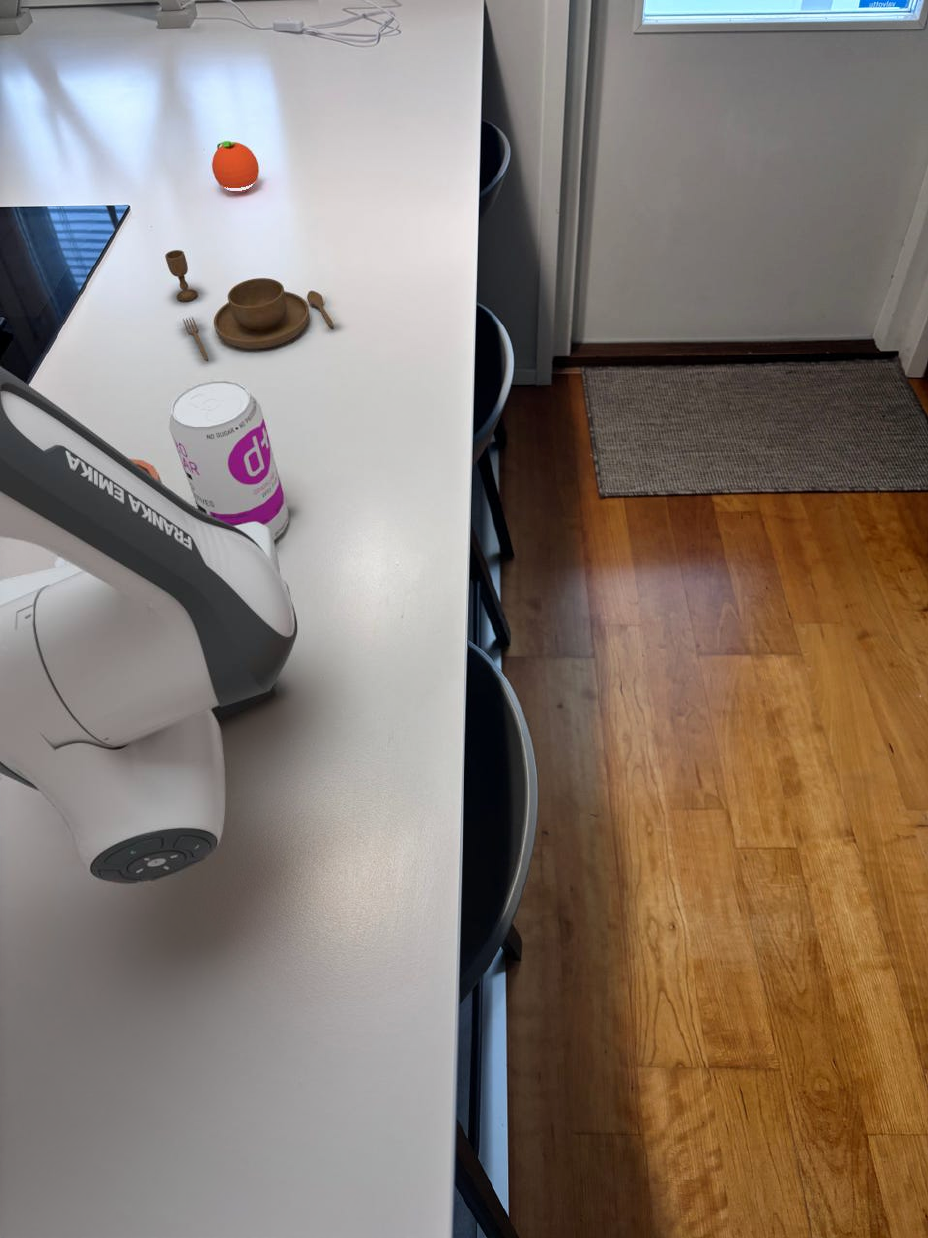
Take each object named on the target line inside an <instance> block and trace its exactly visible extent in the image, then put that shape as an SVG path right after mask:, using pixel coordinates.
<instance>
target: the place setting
mask: <svg viewBox="0 0 928 1238" xmlns="http://www.w3.org/2000/svg"><path fill="white" fill-rule="evenodd" d="M164 257H165V261H166V264H167V267H168V270H169V272H170V273H171V275H172V276H174V277H177V278H178V280H179V288H180V289H181V290H182V291H180V292H179V293H177V295H176V300H177V301H178V302H181V303H188V302H192V301H194V300H195V299H197V297H198V295H199V293H198V292H197V290H195V289H188V288H189V284H188V282H187V280H186V277H185V276H186V274H187V273H188V271H189V267H188V262H187V261H188V260H187V258H186V255H185V252H184V251H183V250H181V249H174V250H171V251H168V252H167V253H165V255H164ZM323 299H324V298H323V296H322V294H321V293H319V292H317V291H315V290H309V291H308V292H307V294H306V300H307V301H308V302H309V303H310V304H311V305H312V306H315V307H317V308H318V309H319V311H320V312H321V314H322V316H323V318H324V319H325V322H326V324H328V326H329V327H331V328H333V327H334V323H333V320H332V318H331V317H330V316H329V314H328V313H327V311H326V310H325V308H324V307H323V305H322V304H323ZM306 300H305V298H303V297H301V296H300V295H298V294H297V293H293V292H289V291H285V287H284V285H283V284H282V282H280V281H278V280H276V279H273V278H267V277H257V278H251V279H247V280H244V281H241V282H239V283H238V284H235V285H234V286H233V287H232V288H230V290H229V292H228V294H227V301H228V302H226V303H225V304H224V305H222V307H220V308H219V310H218V311H217V312H216V314H215V315H214V317H213V327H214V329H215V332H216V334H217V335H218V337H219V338H221V340H222V341H224V342H226V343H227V344H229V345H231V346H234V347H237V348H241V349H249V350H250V349H253V350H256V349H257V350H258V349H267V348H271V347H276V346H278V345H282V344H284V343H286V342H288V341H290V340H292V339H293V338H295V337H296V336H297V335H299V334H300V333H301V332H302V331H303V330H304V329H305V327H306V326H307V323H308V321H309V318H310V309H309V305H308V303H307V301H306ZM182 321H183V324H184V326H185V329H186V331H187V333H188V334H190V335H193V338H194V340H195V342H196V344H197V347H198V349H199V351H200V353H201V355H202V356H203V359H204V360H205V361H206V360H209V358H208V354H207V351H206V350H205V348H204V346H203V343H202V341H201V339H200V337H199V335H198V334H197V333H198V331H199V328H198V326H197V323H196V321H195V319H194V317H193V316H191V318H190V317H188V319H187V318H185V319H184V318H183V319H182ZM189 322H190V323H189Z"/></svg>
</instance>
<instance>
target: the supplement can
mask: <svg viewBox="0 0 928 1238" xmlns="http://www.w3.org/2000/svg"><path fill="white" fill-rule="evenodd" d="M170 413H171V414H170V418H169V424H168V425H169V426H168V429H169V431H170V434H171V438H172V439H173V443H174V446H175V448H176V451H177V453H178V457H179V460H180V462H181V465H182V468H183V471H184V473H185V476H186V479H187V481H188V484H189V488H190V490H191V493H192V495H193V499H194V501H195V504H196V506H197V507H196V508H197V509H199V510H200V511H202V512H204V513H206V514H209V515H211V516H213V517H215V518H217V519H219V520H222V521H224V522H226V523H228V524H230V525H232V526H236V525H240V524H244V523H248V522H259V523H261V524H263V525H265V526H267V527H268V528H269V529H270V531H271V534H272V537H273V540H274V541H276V539H278V537H280V536H281V534H283V533H284V531H285V530H286V528H287V525H288V523H289V522H290V521H289V520H290V519H289V509H288V506H287V501H286V497H285V494H284V489H283V486H282V482H281V479H280V475H279V471H278V467H277V463H276V460H275V456H274V451H273V449H272V444H271V441H270V437H269V434H268V430H267V426H266V423H265V419H264V414H263V411H262V407H261V404H260V403H259V402H258V400H257V399H256V397H254V396H253V395H252V394H251V393H250V392H249V390H248V389H247V387H246V386H244V385H242V384H241V383H239V382H237V381H232V380H227V379H215V380H214V379H213V380H208V381H204V382H199V383H197V384H195V385H192V386H190V387H188V388H186V389H185V390H183V391H182V392H181V393H179V394H178V395H177V396H176V397H175V399H174V400H173V402H172V404H171V410H170Z"/></svg>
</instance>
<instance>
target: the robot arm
mask: <svg viewBox="0 0 928 1238" xmlns="http://www.w3.org/2000/svg"><path fill="white" fill-rule="evenodd" d="M130 459H131V458H128V457H127V456H126V455H125V454H123V453H122V452H120V451H119V450H118V449H116V447H114V446H113V445H111V444H109V443H108V442H107V441H106V440H104V439H103V438H102V437H100V436H99V435H98V434H96V433H95V432H94V431H92V430H91V429H90V428H88V427H87V426H85V425H84V424H83V423H82V422H80V421H79V420H78V419H76V418H74V416H72V415H71V414H69V413H68V412H67V411H65V410H64V409H63V408H61V407H60V406H59V405H57V404H56V403H54V402H53V401H51V400H50V399H49V398H47V397H46V396H44V395H43V394H42V393H40V392H39V391H37V390H36V389H35V388H33V387H32V386H30V385H29V384H27V383H26V382H24V381H23V380H22V379H20V378H19V377H17V376H16V375H14V374H13V373H11V372H10V371H8V370H6V369H5V368H3V367H2V366H1V365H0V539H1V538H2V539H10V540H15V541H20V542H24V543H28V544H30V545H31V544H32V545H35V546H38V547H40V548H42V549H45V550H46V551H48V552H49V553H52V554H53V555H55V556H57V558H56V560H54V567H51V568H46V569H42V570H37V571H34V572H30V573H29V572H28V573H25V574H20V575H16V576H12V577H11V576H10V577H7V578H2V579H0V774H1V775H4V776H5V777H8V778H10V779H12V780H14V781H16V782H18V783H20V784H23V785H25V786H27V787H28V788H31V789H34V790H36V791H38V792H40V793H41V794H42V795H43V796H44V797H45V798H46V800H47V801H49V803H50V804H51V805H52V807H54V808H55V810H56V811H57V812H58V814H59V815H60V816H61V818H62V819H63V820H64V823H65V824H66V826H67V828H68V829H69V832H70V835H71V837H72V840H73V841H74V845H75V849H76V851H77V854H78V857H79V860H80V862H81V865H82V866H83V868H84V869H85V871H87V872H88V874H90V875H91V876H93V877H95V878H96V879H98V880H102V881H105V882H111V883H116V884H126V885H127V884H129V885H130V884H137V883H142V882H149V881H151V882H152V881H156V880H160V879H162V878H166V877H167V876H168V877H169V876H170V875H174V874H177V873H178V872H181V871H183V870H185V869H187V868H190V867H192V866H194V865H196V864H198V863H200V862H202V861H203V860H205V859H206V857H208V856H209V855H211V854H212V853H213V852H214V851H215V850H216V848H217V847H218V846H219V844H220V843H221V839H222V835H223V832H224V827H225V817H226V816H225V815H226V801H227V800H226V798H227V797H226V796H227V795H226V791H227V790H226V789H227V787H226V768H225V755H224V743H223V736H222V730H221V726H220V724H219V722H218V721H217V719H216V717H215V715H214V714H213V712H212V708H214V707H217V706H219V705H220V706H221V707H223V706H226V705H229V704H232V703H235V702H238V701H241V700H244V699H247V698H250V697H253V696H256V695H259V694H262V693H265V692H268V691H270V689H271V688H272V686H274V685H275V684H276V681H277V680H278V678H279V676H280V675H281V673H282V671H283V669H284V667H285V665H286V663H287V661H288V659H289V657H290V654H291V652H292V649H293V647H294V644H295V642H296V639H297V635H298V620H297V619H298V618H297V614H296V612H295V607H294V605H293V601H292V598H291V592H290V589H289V588H290V587H289V585H288V583H287V582H286V581H285V580H284V579H283V577H282V575H281V569H280V568H281V567H280V559H279V556H278V555H279V554H278V551H277V547H276V544H275V540H273V537H272V534H271V531H270V529H269V528H268V527H267V526H265V525H263V524H261V523H259V522H248V523H244V524H240V525H236V526H232V525H230V524H228V523H226V522H224V521H222V520H219V519H217V518H215V517H213V516H211V515H209V514H206V513H204V512H202V511H200V510H199V509H198V507H195V506H193V504H190V503H189V502H188V501H186V500H185V499H183V498H182V497H181V496H179V495H178V494H177V493H176V492H174V491H173V490H172V489H170V488H169V487H168V486H166V485H165V484H164V483H163V482H162V481H161V482H162V483H161V482H159V481H158V480H157V479H155V478H154V477H152V476H151V475H150V474H148V473H147V472H146V471H144V470H143V469H142V468H140V467H139V466H138V465H136V464H135V463H134V462H132V461H131V460H130Z"/></svg>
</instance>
